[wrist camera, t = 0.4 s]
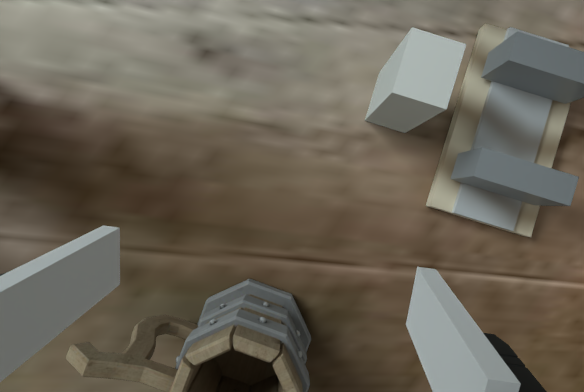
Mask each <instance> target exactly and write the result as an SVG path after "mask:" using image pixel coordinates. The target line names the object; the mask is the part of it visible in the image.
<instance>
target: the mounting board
mask: <svg viewBox="0 0 584 392" xmlns="http://www.w3.org/2000/svg"><path fill="white" fill-rule="evenodd" d="M517 31H518V32H521V33H524V34H528V35H531V36H534V37H537V38H540V39H543V40H547V41H550V42H553V43H556V44H559V45H563V46H566V47H569V45H566V44H563V43H560V42H557V41H553V40H550V39H547V38H544V37H541V36H537V35H534V34H531V33H528V32H525V31H522V30H518V29H515V28H512V27H509V28H508V29H504V28H501V27H497V26H494V25H491V24H488V23H486V24H484V25H483V26H482V27H481V28H480V29H479V31H478V35H477V38H476V41H475V45H474V48H473V51H472V54H471V58H470V61H469V64H468V68H467V71H466V74H465V78H464V81H463V84H462V87H461V91H460V94H459V97H458V101H457V104H456V107H455V111H454V114H453V117H452V121H451V124H450V127H449V130H448V134H447V137H446V140H445V144H444V147H443V150H442V154H441V157H440V160H439V163H438V167H437V170H436V173H435V177H434V180H433V183H432V187H431V190H430V193H429V196H428V200H427V203H426V206H427V207H431V208H434V209H437V210H440V211H444V212H447V213H450V214H453V215H457V216H460V217H463V218H466V219H469V220H473V221H476V222H479V223H482V224H486V225H489V226H492V227H495V228H499V229H502V230H505V231H508V232H511V233H515V234H518V235H521V236H527V237H531V235H532V232H533V228H534V225H535V222H536V218H537V215H538V212H539V208H540V205H532V204H529V203H526V202H523V201H519V200H516V199H513V198H510V197H506V196H503V195H500V194H497V193H494V192H490V191H487V190H484V189H481V188H477V187H474V186H471V185H468V184H465V183H461V182H458V181H455V180H452V179H451V175H452V172H453V169H454V165H455V162H456V159H457V156H458V154H459V153H462V152H466V151H470V150H473V149H477V148H481V147H484V148H487V149H491V150H494V151H497V152H500V153H503V154H507V155H510V156H513V157H516V158H519V159H523V160H526V161H529V162H532V163H536V164H539V165H542V166H545V167H548V168H552V165H553V161H554V158H555V155H556V151H557V148H558V144H559V141H560V138H561V134H562V131H563V128H564V124H565V121H566V118H567V114H568V111H569V108H570V104H571V102H569V103H566V104H564V103H561V102H558V101H554V100H551V99H548V98H545V97H542V96H538V95H535V94H532V93H529V92H526V91H522V90H519V89H516V88H513V87H510V86H506V85H503V84H500V83H497V82H494V81H490V80H487V79H484V78H481V76H482V73H483V69H484V66H485V63H486V60H487V56H488V53H489V52H490V51H491V50H493V49H494V48H495V47H497V46H498V45H499V44H501V43H502V42H503V41H505V40H506V39H507V38H509V37H510V36H512V35H513V34H514V33H516V32H517Z"/></svg>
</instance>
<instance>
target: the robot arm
mask: <svg viewBox="0 0 584 392" xmlns="http://www.w3.org/2000/svg"><path fill="white" fill-rule="evenodd" d="M118 285H120V228H117V227H110V226H102V227H99V228H97V229H95V230H93V231H91V232H89V233H87V234H85V235H83V236H81V237H79V238H77V239H75V240H73V241H71V242H69V243H67V244H65V245H63V246H61V247H59V248H57V249H54V250H52V251H50V252H48V253H46V254H44V255H42V256H40V257H38V258H36V259H34V260H32V261H30V262H28V263H26V264H24V265H22V266H20V267H18V268H16V269H14V270H12V271H9V272H7V273H3V274H1V275H0V382H1V381H2V380H3V379H5V378H6V377H7V376H8V375H9V374H11V373H12V372H13V371H14V370H16V369H17V368H18V367H19V366H20V365H22V364H23V363H24V362H25V361H27V360H28V359H29V358H30V357H32V356H33V355H34V354H35V353H36V352H38V351H39V350H40V349H41V348H43V347H44V346H45V345H46V344H47V343H49V342H50V341H51V340H52V339H54V338H55V337H56V336H57V335H58V334H60V333H61V332H62V331H63V330H65V329H66V328H67V327H68V326H69V325H71V324H72V323H73V322H74V321H76V320H77V319H78V318H79V317H80V316H82V315H83V314H84V313H85V312H87V311H88V310H89V309H90V308H91V307H93V306H94V305H95V304H96V303H98V302H99V301H100V300H101V299H103V298H104V297H105V296H106V295H107V294H109V293H110V292H111V291H112V290H114V289H115V288H116V287H117V286H118ZM406 326H407V329H408V331H409V334H410V336H411V339H412V341H413V344H414V346H415V349H416V351H417V354H418V356H419V359H420V361H421V364H422V366H423V369H424V371H425V374H426V376H427V379H428V381H429V384H430V386H431V389H432V391H433V392H546V391H545V389H544V388H543V387H542V386H541V384H540V383H539V382H538V381H537V380H536V378H535V377H534V376H533V375H532V373H531V372H530V371H529V370H528V369H527V368H525V365H524V364H523V362H522V361H521V360H520V359H519V358H517V355H516V354H515V353H514V351H513V350H512V349H511V348H510V346H509V345H508V344H506V343H505V342H504V341H502V340H501V339H500V338H498V337H497V336H496V335H494V334H487V333H483V332H482V331H481V330H480V328H479V327H478V326H477V324H476V323H475V321H474V320H473V319H472V317H471V316H470V315H469V313H468V312H467V311H466V309H465V308H464V307H463V305H462V304H461V303H460V301H459V300H458V299H457V297H456V296H455V295H454V293H453V292H452V290H451V289H450V288H449V286H448V285H447V284H446V282H445V281H444V280H443V278H442V277H441V276H440V274H439V273H438V272H437V270H436V269H430V268H422V267H417V271H416V276H415V281H414V286H413V291H412V296H411V302H410V307H409V312H408V317H407V322H406Z"/></svg>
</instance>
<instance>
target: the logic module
mask: <svg viewBox="0 0 584 392" xmlns="http://www.w3.org/2000/svg"><path fill="white" fill-rule="evenodd" d="M465 47H466V44H464V43H461V42H458V41H454V40H451V39H448V38H445V37H442V36H438V35H435V34H432V33H429V32H426V31H422V30H419V29H416V28H413V27H412V28H411V29H410V31H409V32H408V33H407V35H406V36H405V38H404V39H403V40H402V42H401V43H400V45H399V46H398V47H397V49H396V50H395V52H394V53H393V54H392V56H391V57H390V59H389V60H388V61H387V63H386V64H385V66H384V67H383V68H382V70H381V71H380V73H379V76H378V79H377V82H376V86H375V89H374V92H373V95H372V99H371V102H370V105H369V108H368V112H367V115H366V118H365V121H368V122H371V123H374V124H377V125H381V126H384V127H387V128H390V129H393V130H397V131H400V132H403V133H406V132H408V131H410V130H411V129H413V128H415V127H417V126H418V125H420V124H422V123H424V122H425V121H427V120H429V119H431V118H432V117H434V116H436V115H438V114H439V113H441V112H443V111H445V110H446V109H447V106H448V103H449V100H450V96H451V93H452V90H453V87H454V83H455V80H456V77H457V73H458V70H459V67H460V63H461V60H462V57H463V54H464V50H465Z"/></svg>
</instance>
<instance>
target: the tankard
mask: <svg viewBox="0 0 584 392" xmlns="http://www.w3.org/2000/svg"><path fill="white" fill-rule="evenodd" d="M162 334H169V335H173V336H177V337H180V338H182V339H184V340H186V341H185V343H184V346H183V349H182V351H181V354H180V356H178V357H177V358H176V363H177V365H176V368H172V367H169V366H166V365H163V364H160V363H157V362H154V361H151V360H150V358H151V357H152V355H153V352H154V349H155V345H156V337H157V336H158V335H162ZM310 341H311V335H310V333H309V331H308V328H307V326H306V324H305V322H304V320H303V317H302V315H301V313H300V311H299V309H298V307H297V304H296V302H295V300H294V298H293V296H292V294H290V293H287V292H285V291H282V290H279V289H277V288H274V287H271V286H268V285H266V284H263V283H260V282H258V281H255V280H252V279H248V280H246V281H244V282H241V283H239V284H237V285H235V286H233V287H231V288H228V289H226V290H224V291H222V292H220V293H218V294H215V295H213V296H211V297H209V298H208V299H207V300H206V303H205V306H204V308H203V311H202V314H201V316H200V319H199V322H198V324H197V325H196V324H194V323H191V322H189V321H186V320H183V319H180V318H176V317H173V316H169V315H160V316H153V317H147V318H145V319H143V320H142V321H141V322H139V323H138V324H137V325H135V327H134V330H133V333H132V337H131V343H130V345H129V346H128V347H127V348H126V350H125V351H124V352H123V353H122V354H120V353H105V352H99V351H98V350H97V349H96V348H95V347H94V346H93V345H92V344H91V343H90V342H86V343H80V344H73V345H71V346H70V348H69V351H68V354H67V356H66V359H67V360H68V361H69V362H70V363H71V364H72V365H73V367H74V368H75V369H76V370H77V371H78V372H79V373H80V374H81V375H82V376H83V377H95V378H108V379H118V380H126V381H134V382H140V383H143V384H145V385H148V386H151V387H153V388H156V389H159V390H161V391H164V392H308V389H309V386H310V379H309V372H308V370H307V368H306V366H305V363H306V361H307V354H306V352H307V349H308V347H309V344H310Z"/></svg>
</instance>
